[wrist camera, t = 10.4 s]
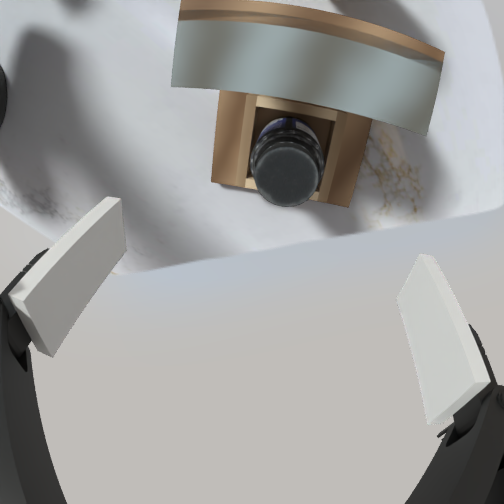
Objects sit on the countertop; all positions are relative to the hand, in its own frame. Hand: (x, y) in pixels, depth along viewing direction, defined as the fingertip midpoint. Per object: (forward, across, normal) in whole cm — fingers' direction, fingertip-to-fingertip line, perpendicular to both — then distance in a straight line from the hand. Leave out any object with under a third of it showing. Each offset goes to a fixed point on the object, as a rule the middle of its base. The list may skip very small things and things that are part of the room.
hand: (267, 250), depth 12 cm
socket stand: (+23, +1, +3) cm, 23 cm away
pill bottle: (+21, +1, 0) cm, 21 cm away
